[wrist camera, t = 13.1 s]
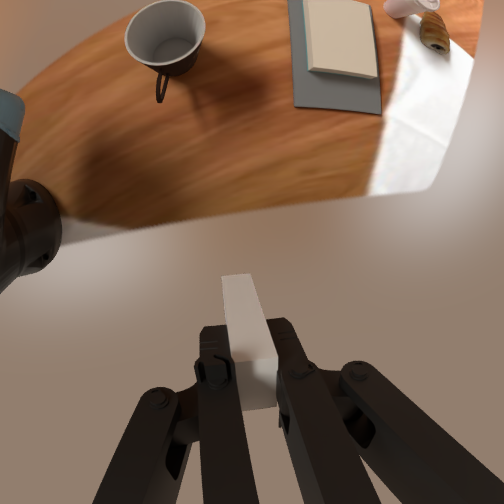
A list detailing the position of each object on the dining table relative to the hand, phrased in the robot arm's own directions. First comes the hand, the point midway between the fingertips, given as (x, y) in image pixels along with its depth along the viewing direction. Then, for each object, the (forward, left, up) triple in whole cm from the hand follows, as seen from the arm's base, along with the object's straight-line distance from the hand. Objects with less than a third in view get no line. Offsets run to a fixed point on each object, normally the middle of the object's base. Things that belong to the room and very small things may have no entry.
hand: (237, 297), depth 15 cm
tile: (+18, +18, -25) cm, 36 cm away
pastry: (+39, +32, -27) cm, 57 cm away
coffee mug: (-6, +20, -27) cm, 34 cm away
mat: (+18, +23, -26) cm, 39 cm away
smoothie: (+30, +34, -27) cm, 53 cm away
